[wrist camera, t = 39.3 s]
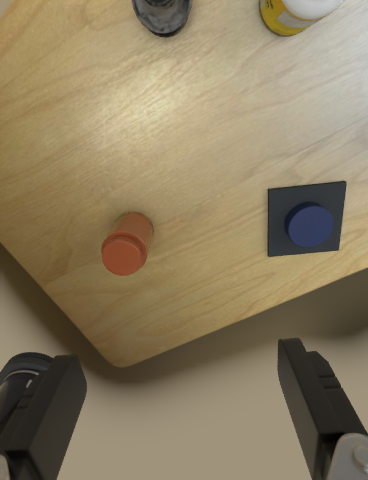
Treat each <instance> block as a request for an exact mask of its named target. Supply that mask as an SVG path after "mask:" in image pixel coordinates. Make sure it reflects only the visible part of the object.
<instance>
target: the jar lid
mask: <svg viewBox="0 0 368 480" xmlns="http://www.w3.org/2000/svg"><path fill="white" fill-rule="evenodd" d="M284 227H285V231H286V233H287V235H288V236H289V237H290V239H291V240H292V241H293V242H294V243H295V244H297V245H299V246H302V247H313V246H316V245H319V244H321V243H322V242H324V241H325V240H326V239H327V238H328V237H329V235H330V234H331V232H332V229H333V218H332V215H331V214H330V213H329V211H327V210H326V209H325V208H323V207H322V206H321V205H319V204H317V203H313V202H305V203H302V204H299V205H297V206H295V207H294V208H293V209H292V210H291V211H290V212H289V213H288V215H287V217H286V219H285V224H284Z"/></svg>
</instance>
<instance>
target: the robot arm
mask: <svg viewBox="0 0 368 480" xmlns="http://www.w3.org/2000/svg"><path fill="white" fill-rule="evenodd" d="M278 375H279V381H280V385H281V388H282V391H283V394H284V397H285V400H286V403H287V406H288V409H289V412H290V415H291V418H292V421H293V424H294V427H295V430H296V433H297V436H298V439H299V442H300V445H301V448H302V451H303V454H304V457H305V460H306V463H307V466H308V469H309V472H310V475H311V478H312V480H368V433H367V432H366V430H365V429H364V427H363V425H362V423H361V421H360V419H359V417H358V416H357V414H356V412H355V410H354V408H353V407H352V405H351V403H350V401H349V399H348V397H347V396H346V394H345V392H344V390H343V388H341V385H340V383H339V381H338V379H337V378H336V377H335V374H334V372H333V370H332V368H331V367H330V365H329V363H328V362H327V360H325V359H324V358H323V357H322V356H321V355H320V354H319V353H318V352H316V351H312V352H306V350H305V348H304V346H303V344H302V342H301V340H300V339H299V338H289V339H279V341H278ZM86 391H87V383H86V379H85V376H84V373H83V371H82V368H81V365H80V362H79V359H78V357H77V355H75V354H73V355H60V356H55V357H54V359H53V360H52V362H51V364H50V366H49V368H48V370H46V371H38V370H35V369H29V368H21V369H16V370H14V371H12V372H10V373H9V374H8V375H7V376H6V378H5V379H4V381H3V383H2V385H1V386H0V480H56V479H57V476H58V474H59V471H60V468H61V465H62V462H63V459H64V456H65V454H66V451H67V448H68V445H69V442H70V440H71V437H72V434H73V431H74V428H75V425H76V422H77V420H78V417H79V414H80V411H81V408H82V405H83V403H84V400H85V397H86Z"/></svg>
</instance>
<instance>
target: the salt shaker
mask: <svg viewBox="0 0 368 480" xmlns="http://www.w3.org/2000/svg"><path fill="white" fill-rule="evenodd" d="M132 4H133V8H134V11H135V13H136V15H137V17H138V19H139V20H140V21H141V23H142V24H143V25H144V26H145V27H147V28H148V29H149V30H150V31H151V32H152V33H153V34H155V35H157V36H160V37H170V36H174V35H175V34H177V33H179V32H180V31H181V29H182V28H183V27H184V25H185V24H186V22H187V19H188V15H189V13H190V10H191V6H192V0H132Z"/></svg>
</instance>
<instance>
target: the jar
mask: <svg viewBox="0 0 368 480" xmlns="http://www.w3.org/2000/svg"><path fill="white" fill-rule="evenodd" d="M152 237H153V226H152V224H151V222H150V221H149V219H148V218H146V217H145V216H144V215H142V214H140V213H136V212H129V213H125V214H123V215H121V216H120V217H119V218H118V219H117V221H116V222H115V224H114V225H113V227H112V228H111V230H110V232H109V233H108V235H107V236H106V238H105V240H104V241H103V243H102V247H101V253H102V261H103V264H104V266H105V267H106V268H107V269H108V270H109V271H110V272H112V273H114V274H116V275H120V276H126V275H130V274H133V273H134V272H136V271H137V270H138V269H139V268H141V267H142V266H143V265H144V263H145V261H146V259H147V256H148V252H149V248H150V244H151V241H152Z"/></svg>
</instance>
